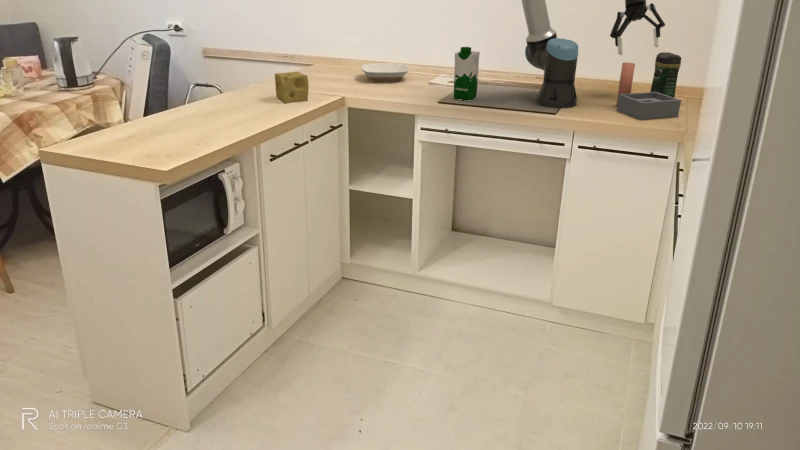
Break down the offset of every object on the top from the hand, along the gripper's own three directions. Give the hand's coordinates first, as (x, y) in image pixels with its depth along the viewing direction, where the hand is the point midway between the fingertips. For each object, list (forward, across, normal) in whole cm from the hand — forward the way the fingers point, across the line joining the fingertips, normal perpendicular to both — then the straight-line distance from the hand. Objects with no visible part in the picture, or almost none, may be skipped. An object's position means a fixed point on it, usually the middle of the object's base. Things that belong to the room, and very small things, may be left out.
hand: (638, 50), depth 245 cm
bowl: (-3, +103, +29) cm, 107 cm away
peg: (+22, +5, +6) cm, 23 cm away
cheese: (+14, +108, +80) cm, 135 cm away
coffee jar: (+19, -4, -12) cm, 23 cm away
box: (+27, -5, +10) cm, 29 cm away
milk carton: (+15, +57, +35) cm, 69 cm away
